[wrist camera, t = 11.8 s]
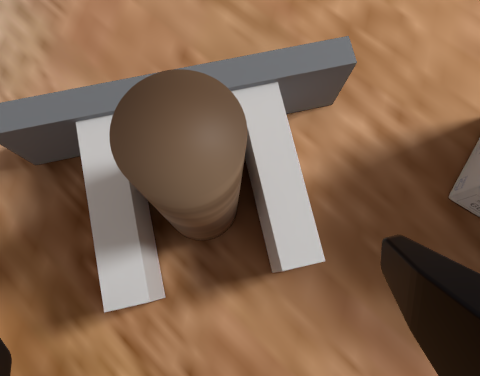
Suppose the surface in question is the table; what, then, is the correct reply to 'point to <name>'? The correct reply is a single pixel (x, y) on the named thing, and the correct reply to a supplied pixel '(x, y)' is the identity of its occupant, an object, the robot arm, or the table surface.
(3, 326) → the table surface
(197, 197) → the dowel
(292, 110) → the backstop wall
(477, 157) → the light bulb box
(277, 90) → the socket block
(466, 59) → the table surface
